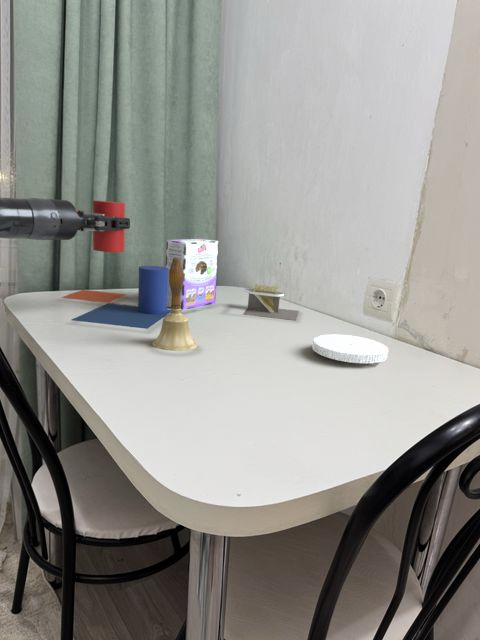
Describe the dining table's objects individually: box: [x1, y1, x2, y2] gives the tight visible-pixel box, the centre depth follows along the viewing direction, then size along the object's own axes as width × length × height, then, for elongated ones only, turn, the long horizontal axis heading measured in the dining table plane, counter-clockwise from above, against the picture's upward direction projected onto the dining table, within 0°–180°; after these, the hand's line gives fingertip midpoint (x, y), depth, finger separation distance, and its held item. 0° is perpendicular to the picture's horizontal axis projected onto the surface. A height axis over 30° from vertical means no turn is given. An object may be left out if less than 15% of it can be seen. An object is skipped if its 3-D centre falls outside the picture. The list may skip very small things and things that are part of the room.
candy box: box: [165, 238, 219, 311], centre depth 125 cm, size 14×6×16 cm, turn 149°
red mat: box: [60, 289, 128, 304], centre depth 127 cm, size 12×12×1 cm
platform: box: [242, 283, 300, 321], centre depth 128 cm, size 12×18×7 cm, turn 82°
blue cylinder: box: [137, 265, 168, 314], centre depth 115 cm, size 6×6×10 cm
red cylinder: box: [92, 200, 126, 253], centre depth 107 cm, size 6×6×10 cm
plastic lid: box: [311, 333, 389, 364], centre depth 95 cm, size 14×14×2 cm
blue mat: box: [71, 302, 171, 330], centre depth 111 cm, size 16×19×1 cm
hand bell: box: [151, 258, 199, 352], centre depth 90 cm, size 8×8×16 cm
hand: (117, 221), depth 108 cm, fingers closed on red cylinder, 6 cm apart
